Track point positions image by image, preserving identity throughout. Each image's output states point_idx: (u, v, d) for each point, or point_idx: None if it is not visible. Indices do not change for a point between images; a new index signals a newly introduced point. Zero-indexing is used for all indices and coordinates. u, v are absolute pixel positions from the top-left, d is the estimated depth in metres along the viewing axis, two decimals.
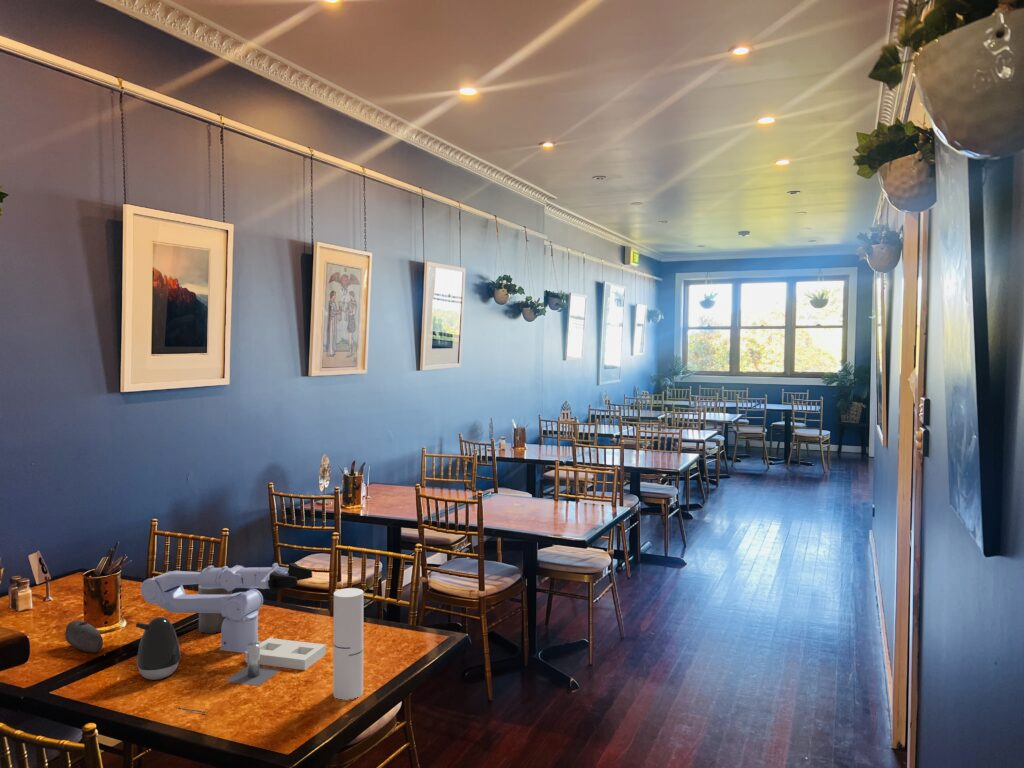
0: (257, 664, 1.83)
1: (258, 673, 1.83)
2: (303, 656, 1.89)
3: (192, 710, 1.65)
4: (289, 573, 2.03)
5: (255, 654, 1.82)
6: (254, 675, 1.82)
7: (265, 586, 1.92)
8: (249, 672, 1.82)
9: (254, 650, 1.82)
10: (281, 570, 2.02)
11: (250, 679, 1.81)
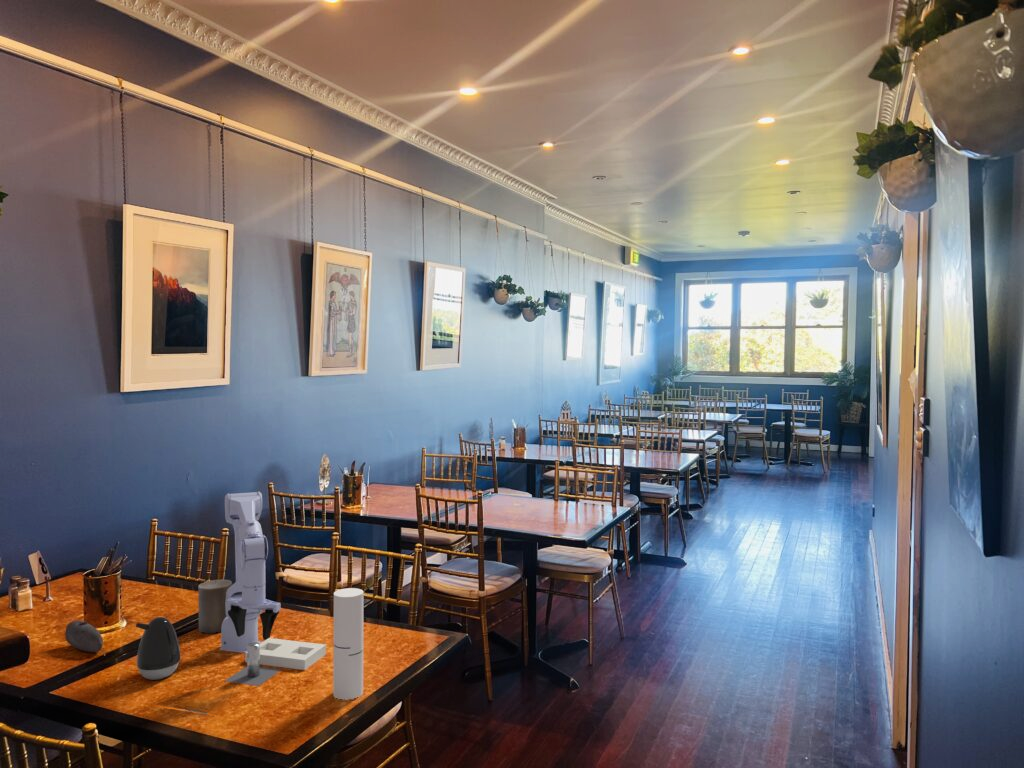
0: (257, 664, 1.83)
1: (258, 673, 1.83)
2: (303, 656, 1.89)
3: (193, 710, 1.65)
4: None
5: (255, 654, 1.82)
6: (254, 675, 1.82)
7: None
8: (249, 672, 1.82)
9: (254, 650, 1.82)
10: None
11: (250, 679, 1.81)
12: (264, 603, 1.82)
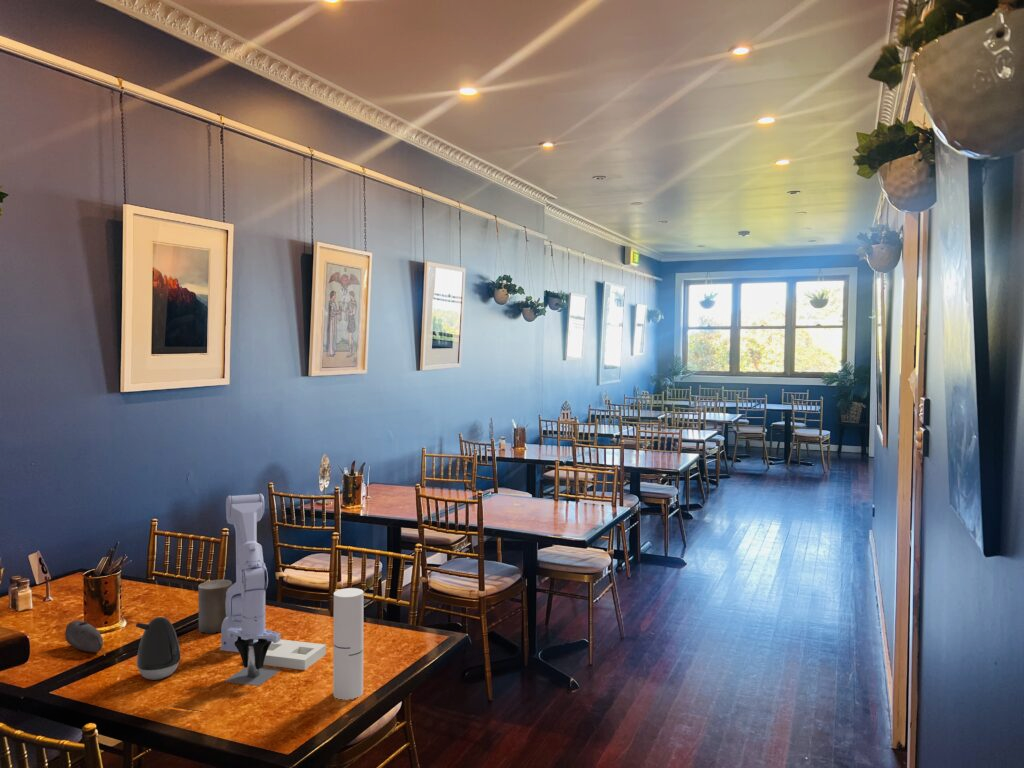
0: None
1: (258, 673, 1.83)
2: (303, 656, 1.89)
3: None
4: None
5: None
6: (254, 675, 1.82)
7: None
8: (249, 672, 1.82)
9: None
10: None
11: (250, 679, 1.81)
12: (264, 633, 1.82)
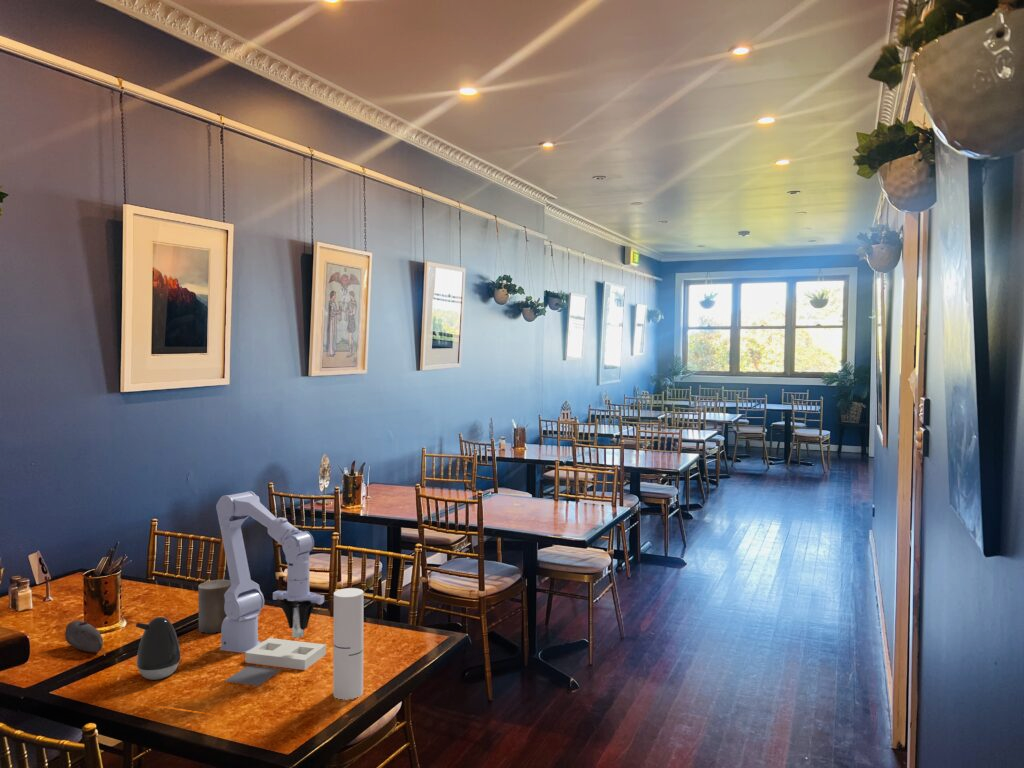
0: None
1: (302, 634, 1.92)
2: (303, 656, 1.89)
3: None
4: None
5: None
6: (299, 635, 1.91)
7: None
8: (294, 632, 1.91)
9: (299, 612, 1.91)
10: None
11: (250, 679, 1.81)
12: (308, 595, 1.91)
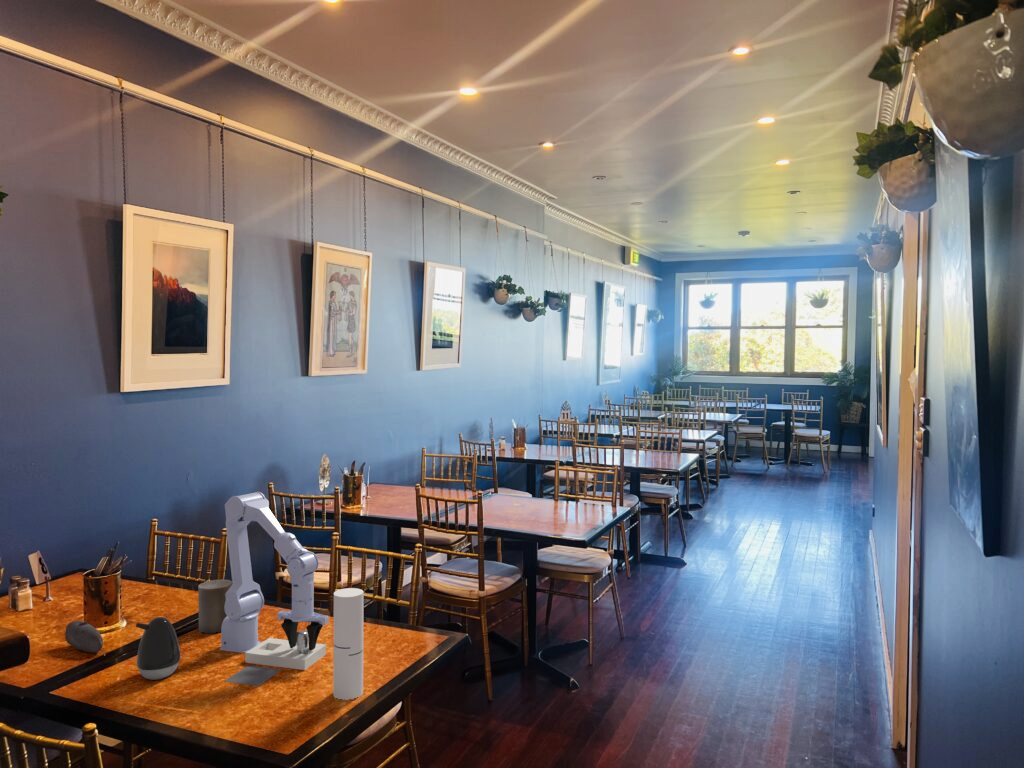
0: (306, 651, 1.93)
1: None
2: (303, 656, 1.89)
3: None
4: None
5: (304, 642, 1.92)
6: None
7: None
8: None
9: (304, 638, 1.92)
10: None
11: (250, 679, 1.81)
12: (313, 616, 1.92)
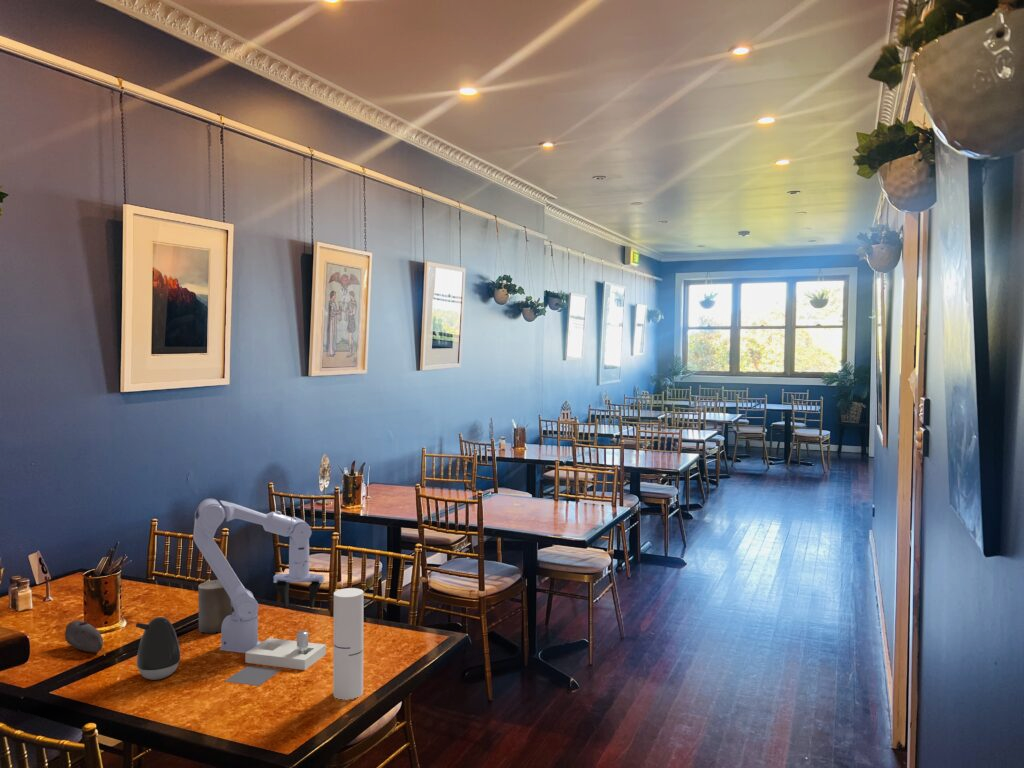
0: (306, 651, 1.93)
1: None
2: (303, 656, 1.89)
3: None
4: None
5: (304, 642, 1.92)
6: None
7: None
8: None
9: (304, 638, 1.92)
10: None
11: (250, 679, 1.81)
12: (309, 576, 2.09)
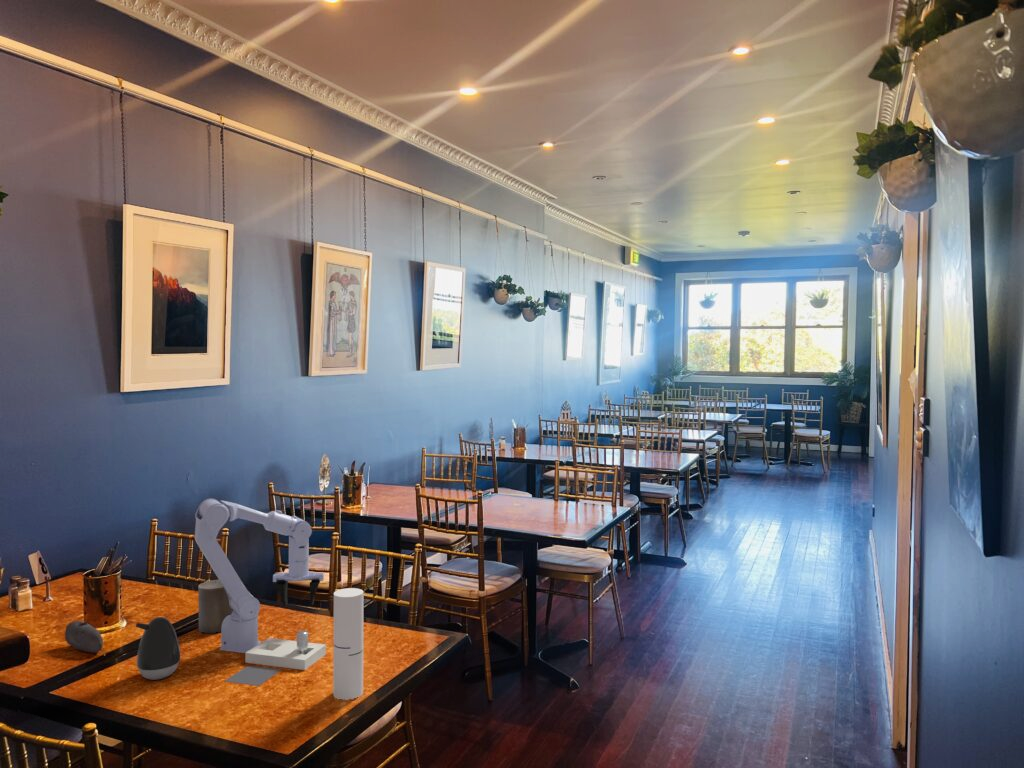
0: (306, 651, 1.93)
1: None
2: (303, 656, 1.89)
3: None
4: (311, 581, 2.12)
5: (304, 642, 1.92)
6: None
7: None
8: None
9: (303, 638, 1.92)
10: None
11: (250, 679, 1.81)
12: (309, 574, 2.12)
